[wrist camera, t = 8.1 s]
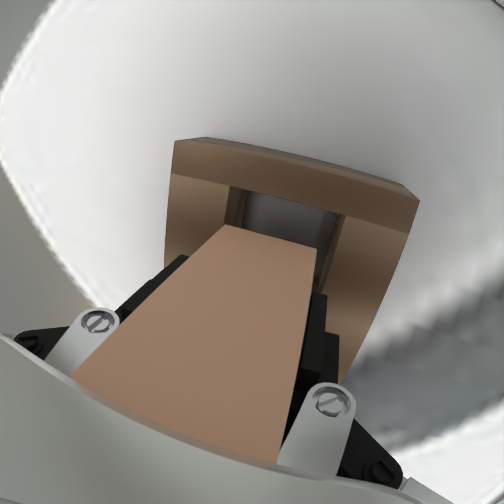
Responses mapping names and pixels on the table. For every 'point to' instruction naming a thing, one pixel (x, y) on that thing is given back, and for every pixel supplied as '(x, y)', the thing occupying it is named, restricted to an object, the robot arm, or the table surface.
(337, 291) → the socket block
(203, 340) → the peg
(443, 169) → the table surface
